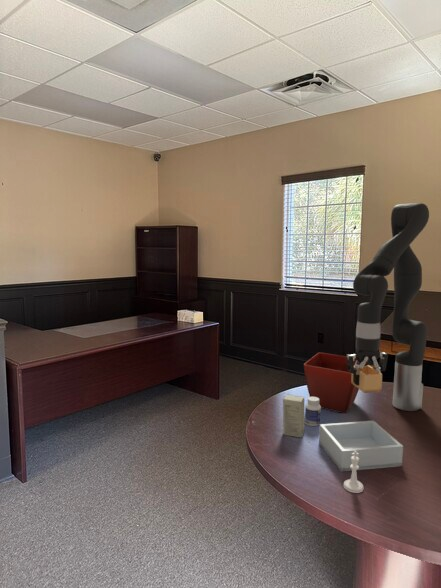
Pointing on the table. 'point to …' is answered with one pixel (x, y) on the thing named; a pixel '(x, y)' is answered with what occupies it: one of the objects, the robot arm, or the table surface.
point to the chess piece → (354, 477)
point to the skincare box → (293, 415)
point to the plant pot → (330, 381)
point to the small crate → (369, 380)
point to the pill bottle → (313, 412)
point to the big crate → (360, 445)
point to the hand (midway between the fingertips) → (365, 383)
